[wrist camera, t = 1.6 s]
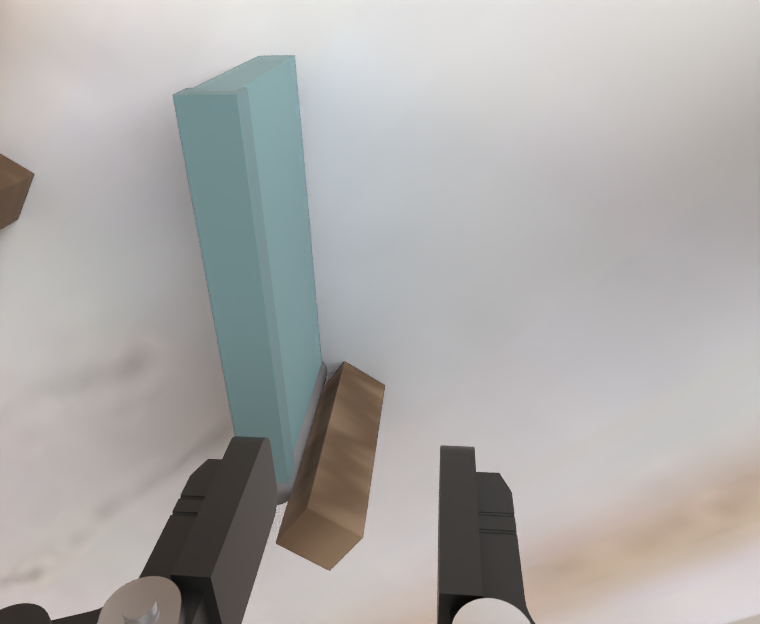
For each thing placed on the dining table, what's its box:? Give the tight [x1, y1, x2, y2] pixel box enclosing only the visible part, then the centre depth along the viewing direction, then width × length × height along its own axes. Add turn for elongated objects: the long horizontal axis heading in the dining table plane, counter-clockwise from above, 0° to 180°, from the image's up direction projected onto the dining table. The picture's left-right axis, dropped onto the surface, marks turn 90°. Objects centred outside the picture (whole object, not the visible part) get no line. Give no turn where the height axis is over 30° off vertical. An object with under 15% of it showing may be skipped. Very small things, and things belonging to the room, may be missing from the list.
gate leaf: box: [173, 55, 327, 505], centre depth 27 cm, size 18×2×10 cm, turn 1°
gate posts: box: [0, 154, 385, 571], centre depth 29 cm, size 25×3×11 cm, turn 56°
